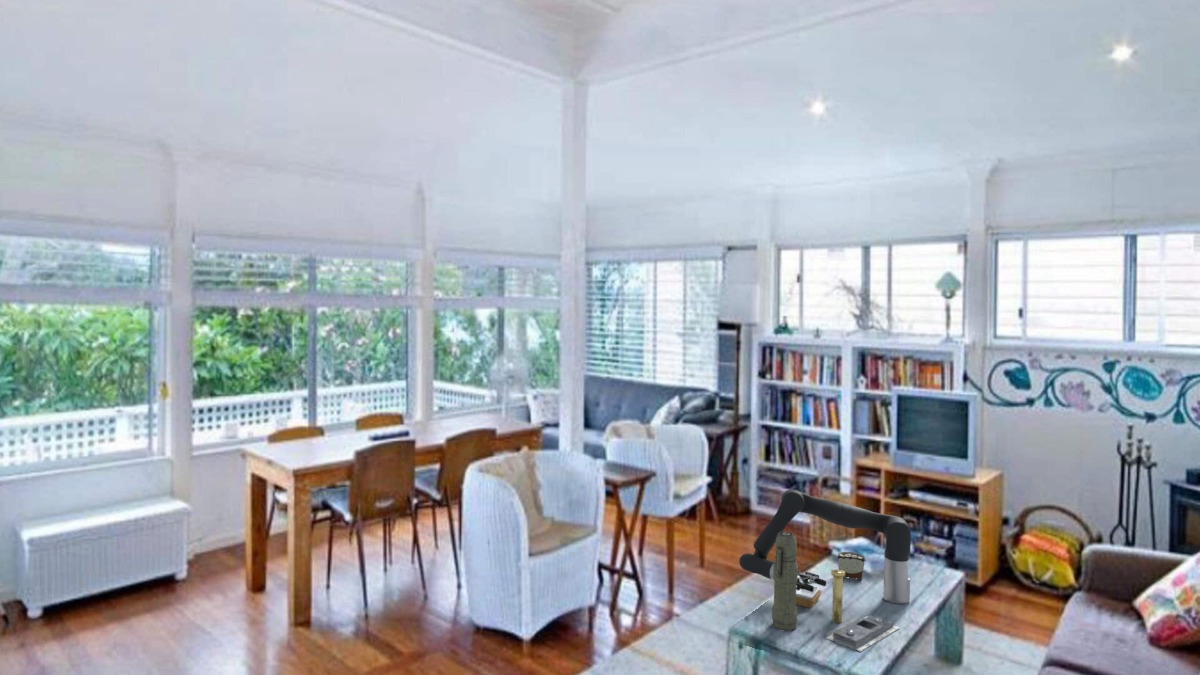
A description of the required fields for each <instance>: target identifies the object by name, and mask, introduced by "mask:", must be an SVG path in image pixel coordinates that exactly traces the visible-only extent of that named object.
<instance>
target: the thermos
mask: <svg viewBox="0 0 1200 675" xmlns="http://www.w3.org/2000/svg"><path fill="white" fill-rule="evenodd" d="M797 544H798V541H797V538H796V535H795V534H794V533H792V532H790V531H783V532H780V533H778V535H777V538H776V543H775V548H774V549H775V552H774V553H775V558H774V561H773V562H774V565H773V579H774V580H773V582H774V583H773V585H774V586H773V589H774V590H773V606H772V608H771V609H772V610H771V612H772V614H771V616H772V617H771V618H772V624H771V625H772V627H773V628H774V627H775V628H774V629H776V630H778V631H781V630H784V631H783V632H793V631H796V630H797V621H798V608H797V604H796V583H797V581H798V572H799V565H798V563H797V552H798V550H797V549H798V548H797V547H798V546H797ZM792 630H793V631H792Z"/></svg>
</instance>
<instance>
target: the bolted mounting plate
mask: <svg viewBox="0 0 1200 675" xmlns="http://www.w3.org/2000/svg"><path fill="white" fill-rule="evenodd" d="M899 628H900V627H898V626H896V625H894V623H892V622H891V621H887V620H884V619H882V618H881V617H880V616H873V615H871V614H870V615H866V616H864V617H862V616H861V617H859V618H857V619H855V620H854V621H852V622H850V623H848V624H846V625H844V626H842V627H841V628H839V629H836V630H835V631H833V633H832V634H831V635H829V636H827V637H826V640H828V639H829V640H828V641H831V640H832V642H833V641H835V642H834V643H836V642H837V643H836V644H838V643H840V644H839V645H841V644H842V645H841V646H843V645H845V646H844V647H846V646H847V647H846V648H848V647H849V649H851V648H852V649H851V650H853V649H855V650H854V651H856V650H857V651H856V652H858V651H859V652H858V653H861V652H863V651H864V649H865V650H866V649H868V648H870V647H871V646H873V645H875V644H876V643H878V642H879V641H881V640H883V639H885V638H886V636H887V637H889V636H890V635H892V634H893V633H895V632H896V630H897V631H899V630H900V629H899ZM891 633H892V634H891ZM874 643H875V644H874ZM869 646H870V647H869ZM867 647H868V648H867Z"/></svg>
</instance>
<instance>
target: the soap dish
mask: <svg viewBox="0 0 1200 675" xmlns="http://www.w3.org/2000/svg"><path fill="white" fill-rule="evenodd" d="M812 586H813V587H814V591H813V592H810V591H808V590H805V589H804V590H802V589H800V590H796V606H797V605H798V606H802V607H806V608H810V609H812V608H813V606H814V605H815V604H816V603H817V601H818V600H819V599H820V596H821V595H822V590H821V589H820V587H818V586H814V585H812ZM796 587H797V586H796Z"/></svg>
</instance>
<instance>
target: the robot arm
mask: <svg viewBox="0 0 1200 675" xmlns="http://www.w3.org/2000/svg"><path fill="white" fill-rule="evenodd" d="M799 513H805V514H809V515H812V516H815V517H818V518H820V519H822V520H824V521H827V522H828V523H831V524H835V525H837V526H841V527H843V528H844V527H845V528H848V529H859V530H864V529H865V530H872V531H875V532H878V533H882V534H884V535H885V549H884V554H883V555H884V560H883V561H884V563H883V564H884V566H883V593H882V595H883V600H885V601H887V602H889V603H892V604H898V605H899V604H900V605H902V604H906V603H910V600H911V599H910V598H911V579H910V577H909V567H910V566H909V565H910V554H911V546H912V545H911V543H912V541H911V540H912V531H911V528H910V526H909V524H908V523H907V521H906V520H905V518H902V517H900V516H897V515H890V514H883V513H880V512H879V513H878V512H875V511H874V512H873V511H871V510H869V509H865V508H862V507H858V506H855V505H851V504H848V503H844V502H840V501H836V500H830V499H826V498H820V497H815V496H813V495H809V494H806V493H804V492H802V491H799V490H796V489H793V488H792V489H787V490H785V491H784V492H783V493H782V495H781V498H780V504H779V507H778V509H777V510H776V513H775V514H774V516H773V517H772V519H771V520H770V522H768V523H767V525H766V526H765V527H764V528H763V529H762V531H761V532H760V534H759V535H758V536H757V538H756V540H755V541H754V543H753V548H754V552H753V554H752V553H749V552H748V553H743V554H742V555H741V556H740V557H739V559H738V562H739V566H740V567H741V569H743V570H744V571H746V572H749V573H752V574H757V575H760V576H761V577H764V578H766V579H769V580H771V581H772V580H773V581H774V579H773V565H774V562H775V561H772V560H769V559H767V558H768V555H769V553H770V552H771V550H772V549H773V547H774V546H775V545H776V538H777V535H778V533H780V532H784V530H785V529H786V527H787V526H788V525H789V523H790V522H791V521H792V520H793V519H794V518H795V516H796V515H798V514H799ZM812 584H817V585H819V586H822V587H826V586H827V580H826V579H822V578H820V575H819V574H816V573H812V572H810V571H809V572H808V571H805V572H804V573H800V572H799V571H798V581H797V583H796V586H797V587H796V590H800V589H802V590H804V589H805V590H808V591H810V592H813V591H814V587H813V586H814V585H812Z"/></svg>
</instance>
